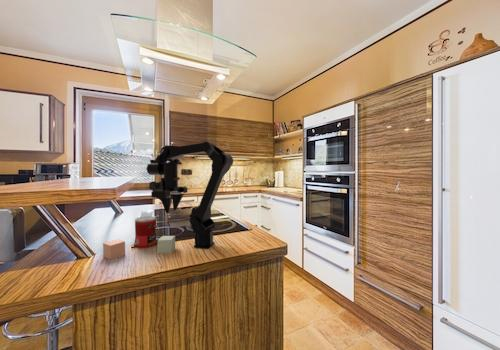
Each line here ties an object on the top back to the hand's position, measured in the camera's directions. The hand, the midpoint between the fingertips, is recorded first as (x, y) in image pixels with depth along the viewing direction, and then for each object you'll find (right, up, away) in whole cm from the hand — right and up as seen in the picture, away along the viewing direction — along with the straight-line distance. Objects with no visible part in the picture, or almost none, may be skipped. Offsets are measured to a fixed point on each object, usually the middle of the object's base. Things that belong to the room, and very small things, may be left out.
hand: (171, 211), depth 94 cm
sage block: (+2, -14, -10) cm, 17 cm away
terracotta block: (-15, -14, -15) cm, 25 cm away
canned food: (-9, -13, -4) cm, 17 cm away
